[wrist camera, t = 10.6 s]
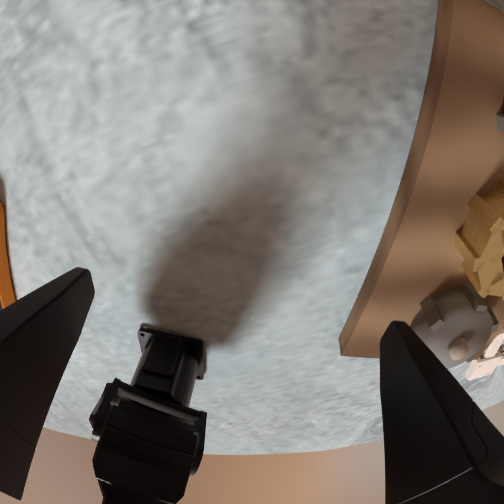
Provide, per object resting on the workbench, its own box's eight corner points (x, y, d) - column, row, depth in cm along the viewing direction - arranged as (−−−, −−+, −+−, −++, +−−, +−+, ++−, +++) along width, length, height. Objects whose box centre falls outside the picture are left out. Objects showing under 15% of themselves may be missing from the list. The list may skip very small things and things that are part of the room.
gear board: (471, 345, 26) (487, 386, 21) (338, 337, 26) (344, 390, 22) (583, 92, 10) (628, 112, 5) (439, -11, 10) (488, -25, 6)
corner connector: (534, 314, 24) (539, 324, 22) (510, 357, 28) (514, 366, 27) (485, 327, 25) (490, 338, 24) (464, 370, 29) (467, 380, 28)
